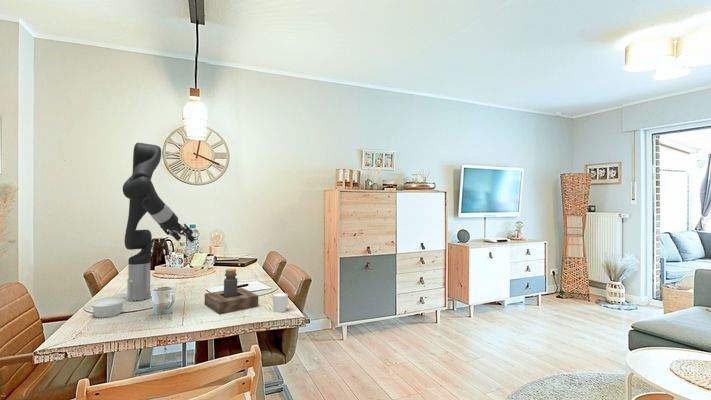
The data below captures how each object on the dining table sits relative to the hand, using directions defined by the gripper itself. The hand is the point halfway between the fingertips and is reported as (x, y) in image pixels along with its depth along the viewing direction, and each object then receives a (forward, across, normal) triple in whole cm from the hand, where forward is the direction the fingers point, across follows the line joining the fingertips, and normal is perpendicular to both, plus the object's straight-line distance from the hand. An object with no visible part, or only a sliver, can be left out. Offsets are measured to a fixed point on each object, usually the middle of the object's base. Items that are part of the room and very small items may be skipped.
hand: (186, 240), depth 168 cm
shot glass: (+32, -41, +11) cm, 53 cm away
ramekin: (+6, +20, +37) cm, 43 cm away
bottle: (+28, -17, +13) cm, 35 cm away
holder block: (+29, -17, +14) cm, 36 cm away
